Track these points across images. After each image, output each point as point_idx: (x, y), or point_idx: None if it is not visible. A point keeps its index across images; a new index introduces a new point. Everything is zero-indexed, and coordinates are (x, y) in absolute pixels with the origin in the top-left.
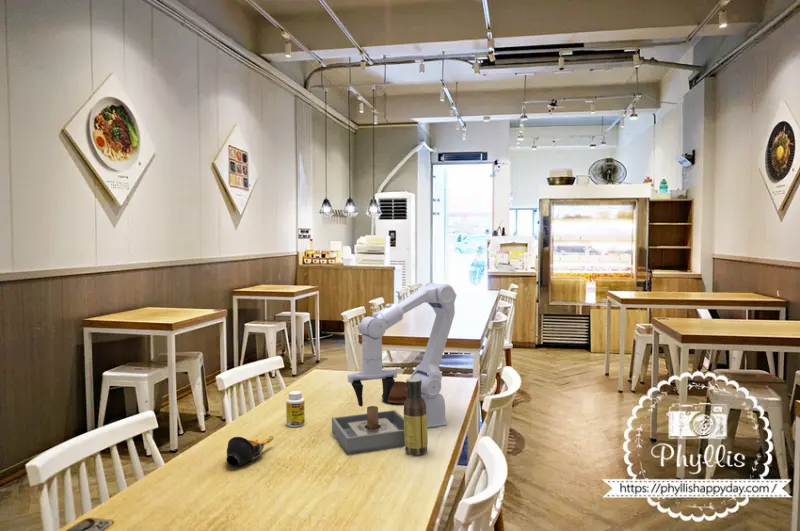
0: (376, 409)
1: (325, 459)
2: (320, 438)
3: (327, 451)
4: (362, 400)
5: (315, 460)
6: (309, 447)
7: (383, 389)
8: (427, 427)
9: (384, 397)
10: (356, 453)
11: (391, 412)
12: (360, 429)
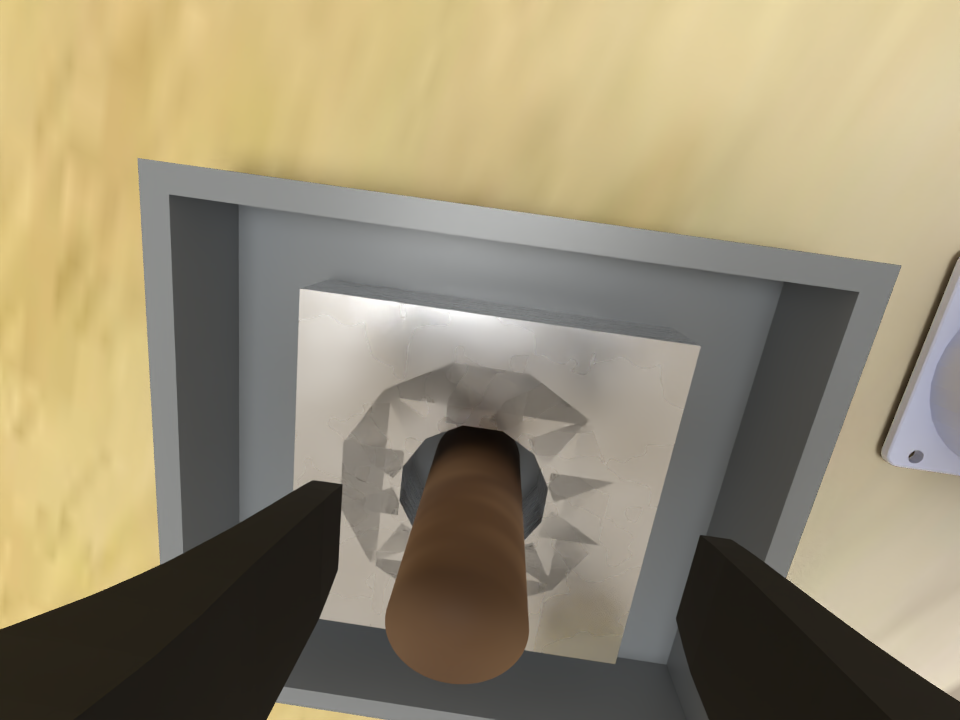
0: (481, 675)
1: (106, 585)
2: (123, 253)
3: (134, 493)
4: (295, 660)
5: (50, 570)
6: (29, 378)
7: (832, 708)
8: (957, 472)
9: (720, 650)
10: None
11: (828, 287)
12: (352, 502)
